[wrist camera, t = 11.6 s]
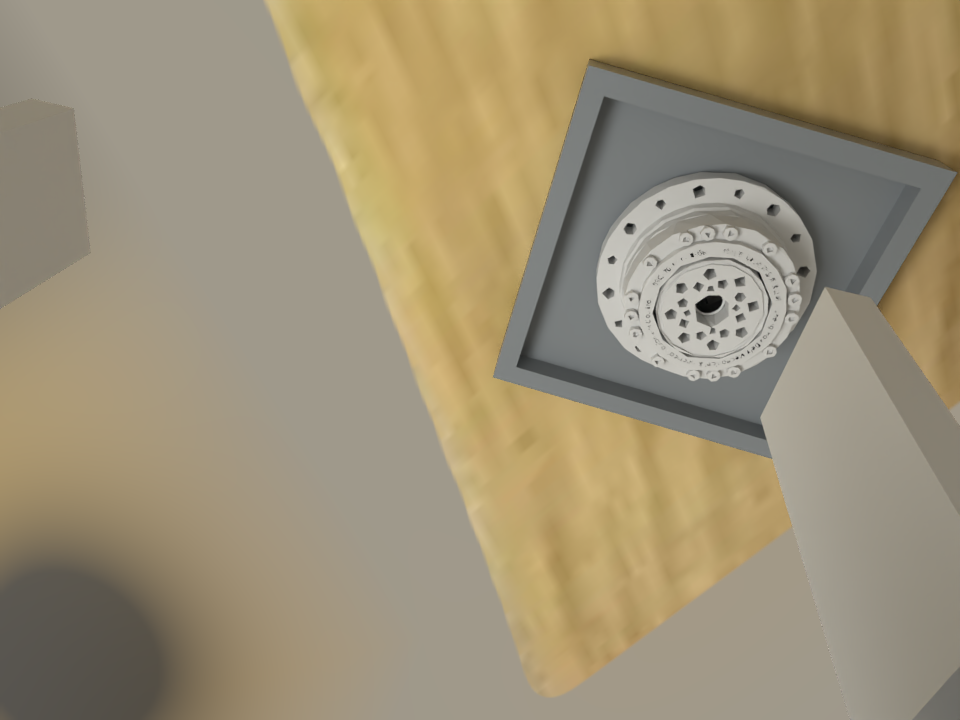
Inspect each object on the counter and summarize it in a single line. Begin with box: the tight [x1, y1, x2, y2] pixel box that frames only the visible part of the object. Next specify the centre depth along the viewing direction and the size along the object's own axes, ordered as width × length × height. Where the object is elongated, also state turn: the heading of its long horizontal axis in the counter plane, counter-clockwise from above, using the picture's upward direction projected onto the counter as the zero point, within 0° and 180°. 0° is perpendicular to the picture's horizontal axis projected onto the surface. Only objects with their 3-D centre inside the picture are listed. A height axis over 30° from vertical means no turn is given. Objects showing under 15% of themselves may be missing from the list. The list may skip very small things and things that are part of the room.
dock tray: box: [493, 59, 957, 459], centre depth 35 cm, size 16×16×2 cm
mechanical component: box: [596, 172, 817, 382], centre depth 33 cm, size 10×4×10 cm
